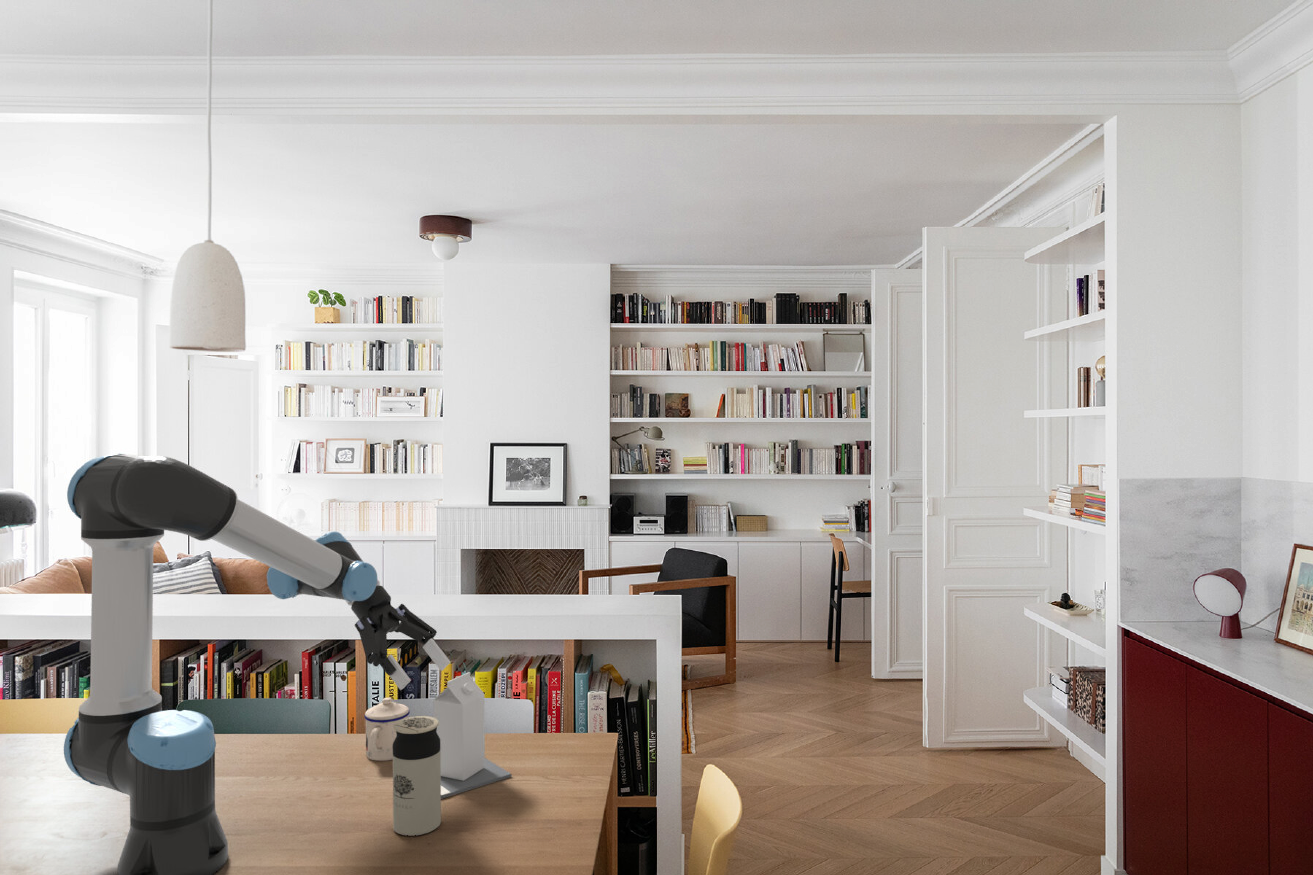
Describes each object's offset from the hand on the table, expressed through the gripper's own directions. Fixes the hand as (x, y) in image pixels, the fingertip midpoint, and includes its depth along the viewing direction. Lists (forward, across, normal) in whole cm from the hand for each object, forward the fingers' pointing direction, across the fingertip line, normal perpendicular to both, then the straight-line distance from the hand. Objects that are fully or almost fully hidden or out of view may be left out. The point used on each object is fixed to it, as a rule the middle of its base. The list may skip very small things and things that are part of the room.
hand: (426, 675), depth 172 cm
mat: (+18, +1, -8) cm, 20 cm away
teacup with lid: (+5, -2, -22) cm, 22 cm away
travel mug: (+23, +22, -4) cm, 32 cm away
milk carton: (+19, +1, -7) cm, 20 cm away
